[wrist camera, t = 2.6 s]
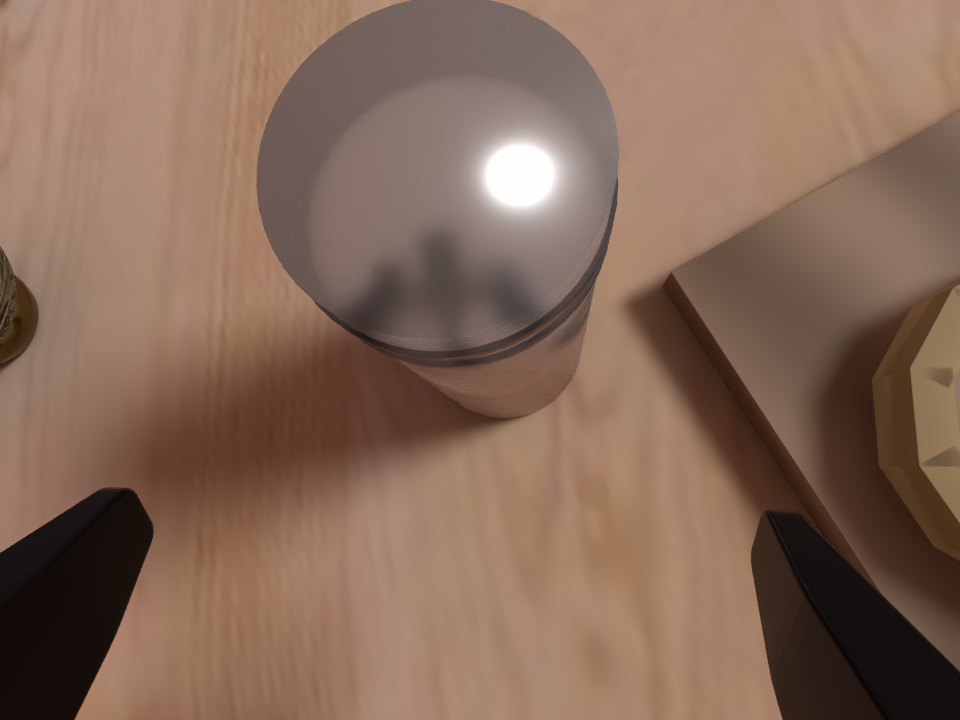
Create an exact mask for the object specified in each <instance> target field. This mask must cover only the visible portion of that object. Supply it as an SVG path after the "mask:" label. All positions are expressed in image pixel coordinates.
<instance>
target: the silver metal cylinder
mask: <svg viewBox="0 0 960 720" xmlns="http://www.w3.org/2000/svg"><path fill="white" fill-rule="evenodd" d="M618 156H619V149H618V137H617V128H616V124H615V119H614V115H613V111H612V107H611V104H610V102H609V99H608V97H607V94H606V92H605V89H604V87H603V85H602V83H601V81H600V80H599V78H598V76H597V75H596V73H595V71H594V69H593V68H592V66H591V65H590V64H589V62H588V61H587V60H586V59H585V57H584V56H583V55H582V54H581V52H580V51H579V50H578V49H577V48H576V47H575V46H574V45H573V44H572V43H571V42H570V41H569V40H568V39H567V38H566V37H564V36H563V35H562V34H561V33H559V32H558V31H557V30H555V29H554V28H552V27H551V26H550V25H548V24H547V23H546V22H544V21H542V20H540V19H538V18H536V17H534V16H533V15H531V14H529V13H527V12H525V11H522V10H519V9H517V8H514V7H512V6H509V5H506V4H503V3H498V2H494V1H490V0H412V1H408V2H404V3H399V4H395V5H392V6H389V7H387V8H384V9H381V10H379V11H376V12H373V13H371V14H369V15H367V16H365V17H363V18H361V19H359V20H357V21H355V22H353V23H351V24H350V25H348V26H347V27H345V28H344V29H342V30H341V31H339V32H338V33H336V34H334V35H333V36H332V37H331V38H329V39H328V40H327V41H326V42H325V43H323V44H322V45H321V46H320V47H318V48H317V49H316V50H315V51H314V52H313V53H312V54H311V55H310V56H309V57H308V58H307V59H306V60H305V61H304V62H303V64H302V65H301V66H300V67H299V68H298V70H297V71H296V72H295V73H294V75H293V76H292V77H291V79H290V80H289V81H288V83H287V84H286V86H285V88H284V89H283V91H282V93H281V94H280V96H279V98H278V99H277V101H276V103H275V105H274V107H273V110H272V112H271V114H270V116H269V119H268V121H267V124H266V127H265V131H264V134H263V137H262V141H261V145H260V151H259V157H258V163H257V194H258V204H259V210H260V214H261V218H262V222H263V226H264V229H265V232H266V234H267V237H268V239H269V242H270V244H271V247H272V249H273V251H274V252H275V254H276V256H277V257H278V259H279V261H280V263H281V264H282V266H283V268H284V269H285V270H286V271H287V273H288V274H289V275H290V276H291V278H292V279H293V280H294V281H295V283H296V284H297V285H298V286H299V287H300V288H301V289H302V290H303V291H304V292H305V293H306V294H308V295H309V296H310V297H311V298H312V299H313V301H314V302H315V303H316V304H317V306H318V307H319V308H320V309H321V310H323V311H324V312H325V313H326V314H327V315H328V316H329V317H330V318H331V319H332V320H333V321H334V322H336V323H337V324H339V325H340V326H342V327H343V328H344V329H346V330H347V331H349V332H350V333H351V334H353V335H354V336H356V337H357V338H359V339H360V340H362V341H363V342H365V343H366V344H368V345H369V346H370V347H372V348H374V349H376V350H378V351H380V352H382V353H384V354H385V355H387V356H389V357H392V358H395V359H396V360H398V361H399V362H401V363H402V364H403V365H405V366H406V367H408V368H409V369H410V370H412V371H413V372H415V373H416V374H417V375H419V376H420V377H422V378H423V379H424V380H426V381H427V382H429V383H430V384H431V385H433V386H434V387H436V388H437V389H438V390H440V391H441V392H443V393H444V394H445V395H447V396H448V397H450V398H451V399H452V400H454V401H455V402H457V403H458V404H459V405H461V406H462V407H464V408H466V409H467V410H469V411H471V412H474V413H476V414H479V415H482V416H486V417H491V418H501V419H504V418H516V417H521V416H525V415H528V414H531V413H534V412H536V411H538V410H540V409H542V408H544V407H545V406H547V405H548V404H550V403H551V402H552V401H554V400H555V399H556V398H557V397H558V396H559V395H560V394H561V393H562V392H563V391H564V390H565V389H566V387H567V386H568V384H569V383H570V381H571V380H572V378H573V376H574V374H575V372H576V369H577V366H578V363H579V360H580V355H581V350H582V345H583V341H584V336H585V331H586V326H587V321H588V316H589V311H590V306H591V301H592V297H593V292H594V287H595V282H596V278H597V276H598V274H599V272H600V270H601V267H602V264H603V261H604V258H605V255H606V252H607V248H608V243H609V238H610V235H611V231H612V226H613V221H614V216H615V211H616V206H617V192H618V178H617V173H618Z"/></svg>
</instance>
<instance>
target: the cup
mask: <svg viewBox="0 0 960 720" xmlns="http://www.w3.org/2000/svg"><path fill="white" fill-rule="evenodd" d="M37 324H38V306H37V302H36V299H35V297H34V295H33V294H32V292H31V291H30V289H29V288H28V287H27V286H26V285H25V284H24V283H23V282H22V281H21V280H20V279H19V278H18V277H17V276H15V275H14V273H13V270H12V267H11V265H10V263H9V261H8V259H7V257H6V255H5V253H4V251H3V250H2V248H1V247H0V364H2V363H4V362H7V361H9V360H11V359H13V358H14V357H16V356H17V355H18V354H20V353H21V352H22V351H23V350H24V349H25V348H26V347H27V345H28V344H29V343H30V341H31V339H32V338H33V336H34V333H35V331H36V328H37Z"/></svg>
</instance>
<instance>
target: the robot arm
mask: <svg viewBox="0 0 960 720" xmlns="http://www.w3.org/2000/svg"><path fill="white" fill-rule="evenodd" d="M152 539H153V524H152V521H151V520H150V518H149V516H148V514H147V512H146V510H145V509H144V507H143V505H142V503H141V501H140V499H139V498H138V496H137V494H136V493H135V492H134V491H133V490H131V489H129V488H112V487H108V488H103V489H100V490H98V491H97V492H95V493H93V494H92V495H90V496H89V497H87V498H86V499H84V500H82V501H81V502H79V503H78V504H76V505H75V506H73V507H71V508H70V509H68V510H67V511H65V512H64V513H62V514H60V515H59V516H57V517H56V518H54V519H53V520H51V521H50V522H48V523H46V524H45V525H43V526H42V527H40V528H39V529H37V530H35V531H34V532H32V533H31V534H29V535H28V536H26V537H24V538H23V539H21V540H20V541H18V542H17V543H15V544H14V545H12V546H10V547H9V548H7V549H6V550H4V551H3V552H1V553H0V720H75V718H76V716H77V714H78V712H79V710H80V708H81V706H82V704H83V702H84V700H85V698H86V696H87V694H88V691H89V689H90V687H91V685H92V683H93V681H94V679H95V677H96V675H97V673H98V671H99V669H100V667H101V665H102V663H103V661H104V659H105V657H106V655H107V653H108V651H109V649H110V647H111V644H112V642H113V640H114V638H115V636H116V633H117V631H118V628H119V626H120V623H121V621H122V619H123V616H124V613H125V611H126V608H127V605H128V603H129V600H130V597H131V595H132V592H133V590H134V587H135V584H136V582H137V579H138V576H139V574H140V571H141V568H142V566H143V563H144V561H145V558H146V555H147V553H148V550H149V547H150V545H151V542H152ZM751 565H752V572H753V578H754V583H755V589H756V595H757V601H758V607H759V612H760V618H761V624H762V630H763V636H764V641H765V647H766V653H767V659H768V664H769V669H770V675H771V680H772V683H773V687H774V691H775V695H776V699H777V702H778V706H779V709H780V713H781V716H782V719H783V720H960V671H959V670H958V669H957V668H956V667H955V666H954V665H953V664H952V663H951V662H950V661H949V660H948V659H947V658H946V657H945V656H944V655H943V654H942V653H941V652H940V651H939V650H938V649H937V648H936V647H935V646H934V645H933V644H932V643H931V642H930V641H929V640H928V639H927V638H926V637H925V636H924V635H923V634H922V633H921V632H920V631H919V630H918V629H917V628H916V627H915V626H914V625H913V624H912V623H911V622H910V621H909V620H908V619H907V618H906V617H904V616H903V615H902V614H901V613H900V612H899V611H898V610H897V609H896V608H895V607H894V606H893V605H892V604H891V603H890V602H889V601H888V600H887V599H886V598H885V597H884V596H883V595H882V594H881V593H880V592H879V591H878V590H877V589H876V588H875V587H874V586H873V585H872V584H871V583H870V582H869V581H868V580H867V579H866V578H865V577H864V576H863V575H862V574H861V573H860V572H859V571H858V570H857V569H856V568H855V567H854V566H853V565H852V564H851V563H850V562H849V561H848V560H847V559H846V558H845V557H844V556H843V555H842V554H841V553H840V552H839V551H838V550H837V549H836V548H835V547H834V546H833V545H832V544H831V543H830V542H829V541H828V540H827V539H826V538H825V537H824V536H823V535H822V534H821V533H820V532H819V531H818V530H816V529H815V528H814V527H813V526H812V525H811V524H810V523H809V522H808V521H807V520H806V519H805V518H804V517H803V516H802V515H801V514H799V513H798V512H796V511H789V510H766V511H765V512H764V513H763V514H762V516H761V518H760V522H759V525H758V529H757V532H756V536H755V539H754V543H753V546H752V550H751Z"/></svg>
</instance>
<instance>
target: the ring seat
mask: <svg viewBox="0 0 960 720" xmlns="http://www.w3.org/2000/svg"><path fill="white" fill-rule="evenodd" d="M663 287H664V288H665V290H666V291H667V293H668V295H669V296H670V298H671V299H672V301H673V302H674V304H675V305H676V307H677V309H678V310H679V312H680V313H681V315H682V316H683V318H684V319H685V321H686V322H687V324H688V326H689V327H690V329H691V330H692V332H693V333H694V335H695V336H696V338H697V340H698V341H699V343H700V344H701V346H702V347H703V349H704V350H705V352H706V353H707V355H708V357H709V358H710V360H711V361H712V363H713V364H714V366H715V367H716V369H717V370H718V372H719V374H720V375H721V377H722V378H723V380H724V381H725V383H726V384H727V386H728V388H729V389H730V391H731V392H732V394H733V395H734V397H735V398H736V400H737V401H738V403H739V405H740V406H741V408H742V409H743V411H744V412H745V414H746V415H747V417H748V419H749V420H750V422H751V423H752V425H753V426H754V428H755V429H756V431H757V432H758V434H759V436H760V437H761V439H762V440H763V442H764V443H765V445H766V446H767V448H768V450H769V451H770V453H771V454H772V456H773V457H774V459H775V460H776V462H777V463H778V465H779V467H780V468H781V470H782V471H783V473H784V474H785V476H786V477H787V479H788V481H789V482H790V484H791V485H792V487H793V488H794V490H795V491H796V493H797V494H798V496H799V498H800V499H801V501H802V502H803V504H804V505H805V507H806V508H807V510H808V512H809V513H810V515H811V516H812V518H813V519H814V521H815V522H816V524H817V525H818V527H819V529H820V530H821V532H822V533H823V535H824V536H825V538H826V539H827V540H828V541H829V542H830V543H831V544H832V545H833V546H834V547H835V548H836V549H837V550H838V551H839V552H840V553H841V554H842V555H843V556H844V557H845V558H846V559H847V560H848V561H849V562H850V563H851V564H852V565H853V566H854V567H855V568H856V569H857V570H858V571H859V572H860V573H861V574H862V575H863V576H864V577H865V578H866V579H867V580H868V581H869V582H870V583H871V584H872V585H873V586H874V587H875V588H876V589H877V590H878V591H879V592H880V593H881V594H882V595H883V596H884V597H885V598H886V599H887V600H888V601H889V602H890V603H891V604H892V605H893V606H894V607H895V608H896V609H897V610H898V611H899V612H900V613H901V614H902V615H903V616H904V617H906V618H907V619H908V620H909V621H910V622H911V623H912V624H913V625H914V626H915V627H916V628H917V629H918V630H919V631H920V632H921V633H922V634H923V635H924V636H925V637H926V638H927V639H928V640H929V641H930V642H931V643H932V644H933V645H934V646H935V647H936V648H937V649H938V650H939V651H940V652H941V653H942V654H943V655H944V656H945V657H946V658H947V659H948V660H949V661H950V662H951V663H952V664H953V665H954V666H955V667H956V668H957V669H958V670H959V671H960V111H959V112H957V113H955V114H953V115H951V116H950V117H948V118H946V119H944V120H942V121H941V122H939V123H937V124H935V125H934V126H932V127H930V128H928V129H926V130H925V131H923V132H921V133H919V134H917V135H916V136H914V137H912V138H910V139H908V140H907V141H905V142H903V143H901V144H899V145H898V146H896V147H894V148H892V149H890V150H889V151H887V152H885V153H883V154H882V155H880V156H878V157H876V158H874V159H873V160H871V161H869V162H867V163H865V164H864V165H862V166H860V167H858V168H856V169H855V170H853V171H851V172H849V173H847V174H846V175H844V176H842V177H840V178H838V179H837V180H835V181H833V182H831V183H830V184H828V185H826V186H824V187H822V188H821V189H819V190H817V191H815V192H813V193H812V194H810V195H808V196H806V197H804V198H803V199H801V200H799V201H797V202H795V203H794V204H792V205H790V206H788V207H786V208H785V209H783V210H781V211H779V212H777V213H776V214H774V215H772V216H770V217H769V218H767V219H765V220H763V221H761V222H760V223H758V224H756V225H754V226H752V227H751V228H749V229H747V230H745V231H743V232H742V233H740V234H738V235H736V236H734V237H733V238H731V239H729V240H727V241H725V242H724V243H722V244H720V245H718V246H717V247H715V248H713V249H711V250H709V251H708V252H706V253H704V254H702V255H700V256H699V257H697V258H695V259H693V260H691V261H690V262H688V263H686V264H684V265H682V266H681V267H679V268H677V269H675V270H673V271H672V272H671V273H670V275H669V276H668V278H667V280H666V282H665V283H664V285H663Z"/></svg>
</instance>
